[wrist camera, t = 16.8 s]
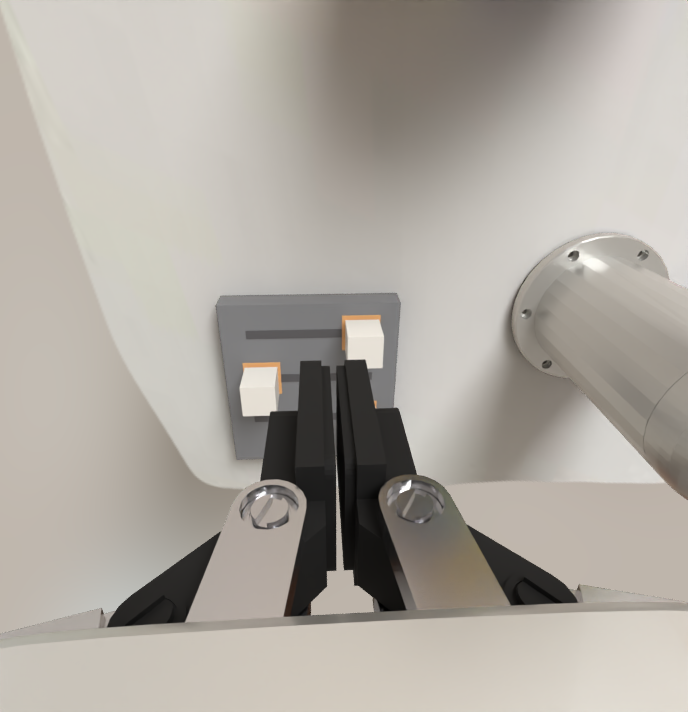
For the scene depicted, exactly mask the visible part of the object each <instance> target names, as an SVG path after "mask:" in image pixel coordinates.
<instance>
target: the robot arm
mask: <svg viewBox="0 0 688 712" xmlns="http://www.w3.org/2000/svg"><path fill="white" fill-rule="evenodd" d="M570 252H571V253H570ZM569 253H570V254H569ZM522 311H523V312H522ZM512 332H513V337H514V340H515V342H516V345H517V347H518V349H519V350H520V352H521V353H522V354H523V356H524V357H525V358H526V359H527V360H528V361H529V362H530V363H531V364H532V365H533V366H534V367H535V368H537V369H538V370H540V371H541V372H544V373H546V374H549V375H552V376H555V377H562V378H570V379H571V380H572V381H573V382H574V383H575V384H576V385H577V387H578V388H579V389H580V390H581V391H582V392H583V393H584V394H585V395H586V396H587V397H588V398H589V400H590V401H591V402H592V403H593V404H594V405H595V406H596V407H597V408H598V409H599V410H600V411H601V413H602V414H603V415H604V416H605V417H606V418H607V419H608V420H609V421H610V422H611V423H612V424H613V426H614V427H615V428H616V429H617V430H618V431H619V432H620V433H621V434H622V435H623V436H624V437H625V439H626V440H627V441H628V442H629V443H630V444H631V445H632V446H633V447H634V448H635V449H636V450H637V451H638V453H639V454H640V455H641V456H642V457H643V458H644V459H645V460H646V461H647V462H648V463H649V464H650V466H651V467H652V468H653V469H654V470H655V471H656V472H657V473H658V474H659V475H660V477H661V478H662V479H663V480H664V481H665V482H666V483H667V484H668V485H669V486H671V488H673V489H674V490H675V491H676V492H677V493H678V494H680V495H681V496H683V497H684V498H685V499H687V500H688V289H686V288H684V287H682V286H680V285H678V284H676V283H674V282H672V281H670V279H669V275H668V270H667V267H666V265H665V263H664V262H663V260H662V258H661V256H660V255H659V254H658V253H657V252H656V251H655V250H654V249H653V248H652V247H650V246H649V245H647V244H646V243H644V242H642V241H640V240H638V239H635V238H633V237H631V236H627V235H622V234H618V233H598V234H593V235H588V236H584V237H581V238H578V239H576V240H573V241H570V242H568V243H566V244H565V245H563V246H561V247H559V248H558V249H556V250H554V251H553V252H552V253H551V254H549V255H548V256H547V257H546V258H544V259H543V260H542V261H541V262H540V263H539V264H538V265H537V266H536V267H535V268H534V269H533V270H532V272H531V273H530V274H529V275H528V277H527V278H526V280H525V282H524V283H523V285H522V286H521V288H520V290H519V293H518V295H517V297H516V299H515V303H514V307H513V311H512ZM336 452H337V471H338V487H339V502H340V518H341V533H342V549H343V564H344V570H353V574H354V585H355V586H360V587H361V588H362V589H363V590H365V591H366V592H367V593H368V594H370V595H371V596H372V597H373V608H374V612H370V613H350V614H332V615H312V616H311V601H312V600H313V599H315V597H317V596H318V595H319V593H321V592H322V590H324V589H325V588H326V587H327V571H336V460H335V443H334V427H333V410H332V394H331V378H330V366H321V360H318V361H300V378H299V397H298V411H271V412H270V416H269V423H268V430H267V437H266V444H265V451H264V458H263V465H262V473H261V480H260V482H256V483H254V484H252V485H250V486H248V487H246V488H245V489H244V490H243V491H242V492H240V493H239V494H238V495H237V497H236V498H235V500H234V502H233V504H232V506H231V509H230V511H229V514H228V516H227V519H226V521H225V524H224V526H223V529H222V531H221V532H219V533H218V534H216V535H215V536H214V537H212V538H211V539H209V540H208V541H207V542H205V543H204V544H202V545H201V546H200V547H198V548H197V549H195V550H194V551H193V552H191V553H190V554H188V555H187V556H186V557H184V558H183V559H181V560H180V561H179V562H177V563H176V564H174V565H173V566H172V567H170V568H169V569H167V570H166V571H165V572H163V573H162V574H161V575H159V576H158V577H156V578H155V579H153V580H152V581H151V582H149V583H148V584H147V585H145V586H144V587H142V588H141V589H140V590H138V591H137V592H135V593H134V594H133V595H131V596H130V597H129V598H128V599H127V600H125V601H124V602H123V603H122V604H121V605H120V606H119V607H118V608H117V610H116V611H113V612H109V613H106V614H104V613H103V610H102V608H99V609H96V610H92V611H88V612H84V613H80V614H76V615H72V616H68V617H64V618H60V619H57V620H53V621H49V622H45V623H41V624H37V625H33V626H29V627H25V628H21V629H17V630H13V631H9V632H5V633H2V634H0V712H688V602H684V601H679V600H672V599H666V598H660V597H654V596H648V595H641V594H635V593H629V592H623V591H617V590H611V589H605V588H598V587H592V586H586V585H580V584H579V585H578V588H577V590H572V589H568V588H567V586H566V585H565V584H564V583H562V582H561V581H560V580H558V579H557V578H555V577H554V576H552V575H551V574H549V573H548V572H546V571H544V570H543V569H541V568H539V567H538V566H536V565H534V564H532V563H531V562H529V561H527V560H526V559H524V558H522V557H521V556H519V555H517V554H516V553H514V552H512V551H511V550H509V549H507V548H505V547H504V546H502V545H500V544H499V543H497V542H495V541H494V540H492V539H490V538H489V537H487V536H485V535H484V534H482V533H480V532H478V531H477V530H475V529H473V528H472V527H470V526H468V525H466V523H465V521H464V520H463V518H462V516H461V514H460V512H459V510H458V509H457V507H456V505H455V503H454V501H453V500H452V498H451V496H450V494H449V493H448V492H447V490H446V489H445V488H444V487H443V486H442V485H440V484H439V483H438V482H436V481H435V480H432V479H430V478H428V477H425V476H420V475H417V473H416V470H415V466H414V462H413V459H412V455H411V451H410V448H409V444H408V441H407V437H406V433H405V430H404V426H403V423H402V419H401V415H400V412H399V409H398V408H375V404H374V399H373V394H372V389H371V384H370V379H369V374H368V369H367V364H366V360H365V359H362V360H344V365H339V366H336Z"/></svg>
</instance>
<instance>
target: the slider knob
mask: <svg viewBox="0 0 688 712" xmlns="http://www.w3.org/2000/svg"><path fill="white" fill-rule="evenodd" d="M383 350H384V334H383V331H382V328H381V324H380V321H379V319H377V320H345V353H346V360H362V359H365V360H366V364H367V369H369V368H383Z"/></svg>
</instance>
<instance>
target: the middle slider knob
mask: <svg viewBox="0 0 688 712" xmlns="http://www.w3.org/2000/svg"><path fill="white" fill-rule="evenodd" d="M240 397H241V405H242V413H243V416H270V412H271V411H277V410H278V401H279V382H278V368H277V367H251V368H244V372H243V376H242V380H241V384H240Z"/></svg>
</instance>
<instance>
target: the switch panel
mask: <svg viewBox="0 0 688 712" xmlns="http://www.w3.org/2000/svg"><path fill="white" fill-rule="evenodd" d="M400 305H401V302H400V300H399V298H398V295H397V293H379V294H313V295H246V296H220V298H219V300H218V302H217V304H216V310H217V317H218V325H219V332H220V340H221V347H222V355H223V362H224V369H225V377H226V384H227V392H228V399H229V406H230V414H231V421H232V429H233V436H234V444H235V451H236V458H237V460H240V459H263V458H264V451H265V444H266V437H267V430H268V423H269V416H243V413H242V405H241V397H240V384H241V380H242V376H243V372H244V368H251V367H277V368H278V382H279V401H278V410H277V411H298V397H299V378H300V361H318V360H321V366H330V378H331V394H332V410H333V427H334V443H335V456H337V452H336V366H339V365H344V360H346V353H345V320H377V319H379V321H380V324H381V328H382V331H383V334H384V350H383V368H369V369H368V374H369V379H370V384H371V389H372V394H373V399H374V404H375V407H376V408H393V407H394V392H395V377H396V363H397V348H398V334H399V319H400Z"/></svg>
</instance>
